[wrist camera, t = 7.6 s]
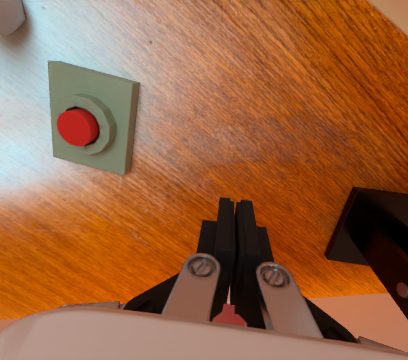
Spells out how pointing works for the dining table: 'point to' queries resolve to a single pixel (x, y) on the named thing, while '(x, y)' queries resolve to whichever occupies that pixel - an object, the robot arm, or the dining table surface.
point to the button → (77, 127)
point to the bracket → (375, 238)
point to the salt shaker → (10, 16)
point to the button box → (95, 115)
